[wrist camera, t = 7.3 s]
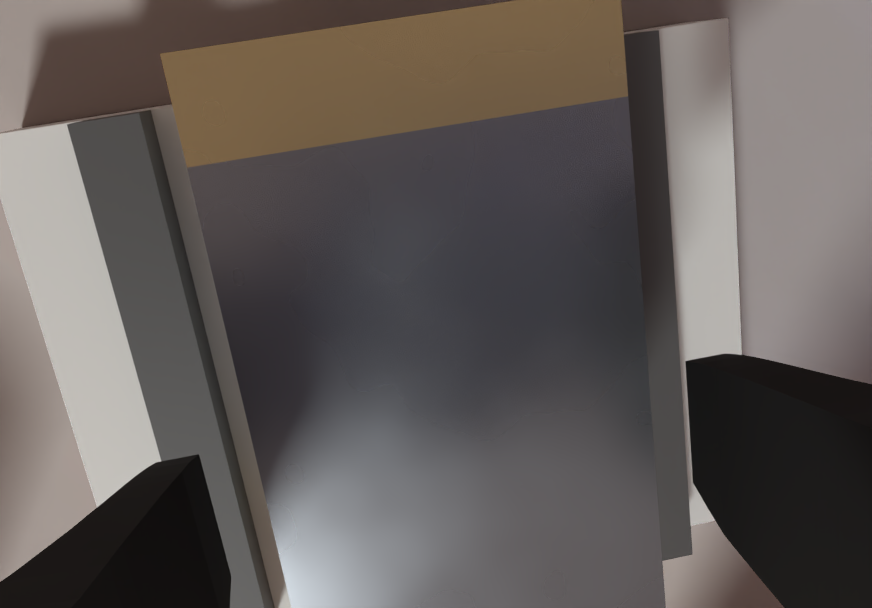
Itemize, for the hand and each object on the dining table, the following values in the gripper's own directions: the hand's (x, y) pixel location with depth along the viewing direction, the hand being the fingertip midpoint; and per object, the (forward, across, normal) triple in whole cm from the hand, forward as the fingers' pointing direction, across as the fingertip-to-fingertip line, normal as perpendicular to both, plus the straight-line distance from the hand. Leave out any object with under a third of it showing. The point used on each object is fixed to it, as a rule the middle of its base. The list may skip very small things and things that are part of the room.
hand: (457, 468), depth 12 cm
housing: (+5, 0, -1) cm, 5 cm away
